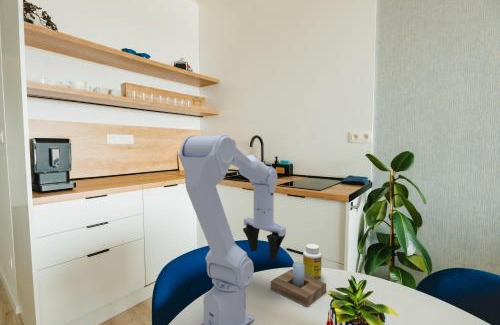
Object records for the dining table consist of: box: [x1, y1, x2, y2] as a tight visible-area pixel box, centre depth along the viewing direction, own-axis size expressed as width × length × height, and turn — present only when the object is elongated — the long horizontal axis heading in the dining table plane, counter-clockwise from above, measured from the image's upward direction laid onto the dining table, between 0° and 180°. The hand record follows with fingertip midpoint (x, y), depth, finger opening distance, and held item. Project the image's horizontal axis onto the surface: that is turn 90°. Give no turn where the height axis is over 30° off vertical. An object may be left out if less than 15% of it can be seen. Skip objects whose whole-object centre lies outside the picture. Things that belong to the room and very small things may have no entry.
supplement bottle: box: [302, 243, 323, 281], centre depth 80 cm, size 6×6×10 cm
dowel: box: [292, 261, 304, 288], centre depth 73 cm, size 3×3×7 cm
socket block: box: [270, 268, 327, 308], centre depth 73 cm, size 10×12×2 cm
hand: (263, 254), depth 74 cm, fingers open, 7 cm apart
